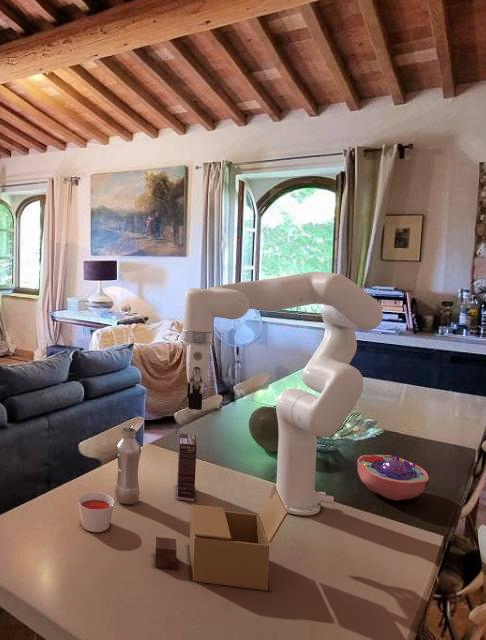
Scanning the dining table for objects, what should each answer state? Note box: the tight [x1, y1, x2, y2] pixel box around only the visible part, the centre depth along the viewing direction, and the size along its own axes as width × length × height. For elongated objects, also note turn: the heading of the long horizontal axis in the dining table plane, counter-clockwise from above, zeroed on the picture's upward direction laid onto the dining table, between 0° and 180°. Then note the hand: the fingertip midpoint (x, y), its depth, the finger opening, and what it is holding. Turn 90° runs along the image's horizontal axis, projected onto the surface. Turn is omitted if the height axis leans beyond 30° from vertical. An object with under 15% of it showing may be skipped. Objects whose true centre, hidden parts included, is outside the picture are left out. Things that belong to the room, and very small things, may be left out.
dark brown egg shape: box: [248, 406, 279, 453], centre depth 180 cm, size 14×14×15 cm
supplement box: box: [176, 433, 198, 502], centre depth 147 cm, size 9×5×16 cm, turn 168°
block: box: [154, 536, 177, 570], centre depth 115 cm, size 4×4×4 cm
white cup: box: [77, 491, 115, 533], centre depth 130 cm, size 9×9×6 cm
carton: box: [189, 503, 270, 591], centre depth 114 cm, size 15×13×10 cm
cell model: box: [356, 453, 430, 502], centre depth 149 cm, size 17×20×11 cm
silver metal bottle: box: [114, 427, 142, 505], centre depth 142 cm, size 6×7×20 cm
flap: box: [257, 484, 289, 544], centre depth 112 cm, size 7×13×1 cm
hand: (194, 403), depth 134 cm, fingers open, 9 cm apart
